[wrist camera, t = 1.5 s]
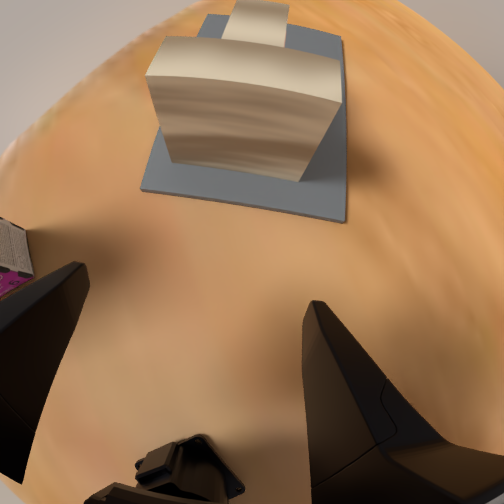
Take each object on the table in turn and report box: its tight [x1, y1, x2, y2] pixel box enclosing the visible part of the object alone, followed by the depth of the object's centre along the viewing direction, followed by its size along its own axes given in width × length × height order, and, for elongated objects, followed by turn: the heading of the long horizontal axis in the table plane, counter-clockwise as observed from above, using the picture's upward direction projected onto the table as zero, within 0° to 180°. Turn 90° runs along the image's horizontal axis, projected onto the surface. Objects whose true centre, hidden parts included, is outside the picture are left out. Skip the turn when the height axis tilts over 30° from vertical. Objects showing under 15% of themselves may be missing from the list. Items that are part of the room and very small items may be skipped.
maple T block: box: [145, 0, 342, 182], centre depth 19 cm, size 9×10×10 cm
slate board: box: [140, 14, 347, 223], centre depth 25 cm, size 24×16×1 cm, turn 172°
